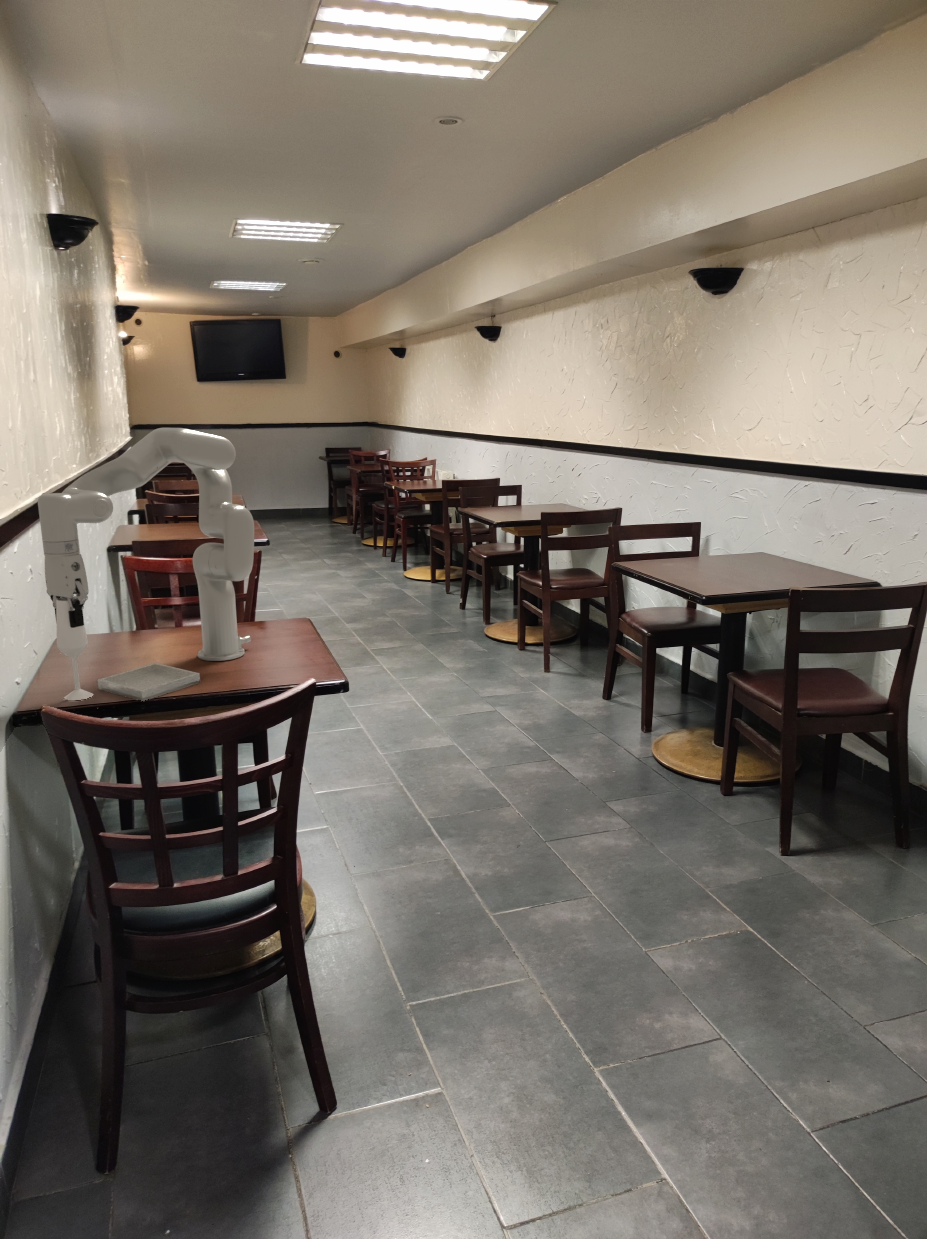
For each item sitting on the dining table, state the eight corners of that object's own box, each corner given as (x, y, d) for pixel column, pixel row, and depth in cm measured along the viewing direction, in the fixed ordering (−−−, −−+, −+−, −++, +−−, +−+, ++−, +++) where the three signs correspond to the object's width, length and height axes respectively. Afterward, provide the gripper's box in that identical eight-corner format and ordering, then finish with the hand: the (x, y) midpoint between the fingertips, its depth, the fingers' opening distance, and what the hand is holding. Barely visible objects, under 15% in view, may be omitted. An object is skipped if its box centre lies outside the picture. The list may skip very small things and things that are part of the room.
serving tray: (156, 672, 222) (155, 662, 222) (200, 682, 213) (199, 673, 213) (98, 689, 208) (97, 679, 208) (142, 701, 199) (141, 691, 199)
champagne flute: (60, 702, 199) (48, 602, 193) (66, 693, 205) (54, 596, 200) (91, 700, 201) (80, 600, 195) (96, 691, 207) (85, 595, 201)
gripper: (98, 548, 193) (106, 626, 197) (55, 542, 202) (63, 617, 206) (68, 553, 187) (77, 633, 191) (24, 546, 196) (34, 623, 200)
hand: (70, 624), depth 199 cm, fingers closed on champagne flute, 4 cm apart
